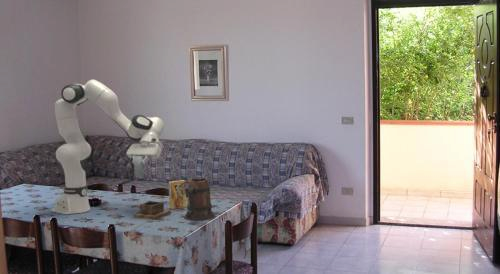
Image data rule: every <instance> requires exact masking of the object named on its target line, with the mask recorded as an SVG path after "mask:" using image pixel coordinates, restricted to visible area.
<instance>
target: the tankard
mask: <svg viewBox="0 0 500 274" xmlns="http://www.w3.org/2000/svg"><path fill="white" fill-rule="evenodd" d="M186 189H187V190H186V192H187V204H186V208H187V209H186V210H187V211H186V213H185V215H184V217H183V219H184V220H186V221H190V222H191V221H192V222H202V221H203V222H204V221H210V220H213V219H215V218H216V217H217V216H216V214H214V212H213V211H212V208H213V207H212V203H211V202H212V201H211V200H212V199H211V185H210V183H209V179H208V178H201V177H199V178H190V179H188V183H187V187H186Z"/></svg>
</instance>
